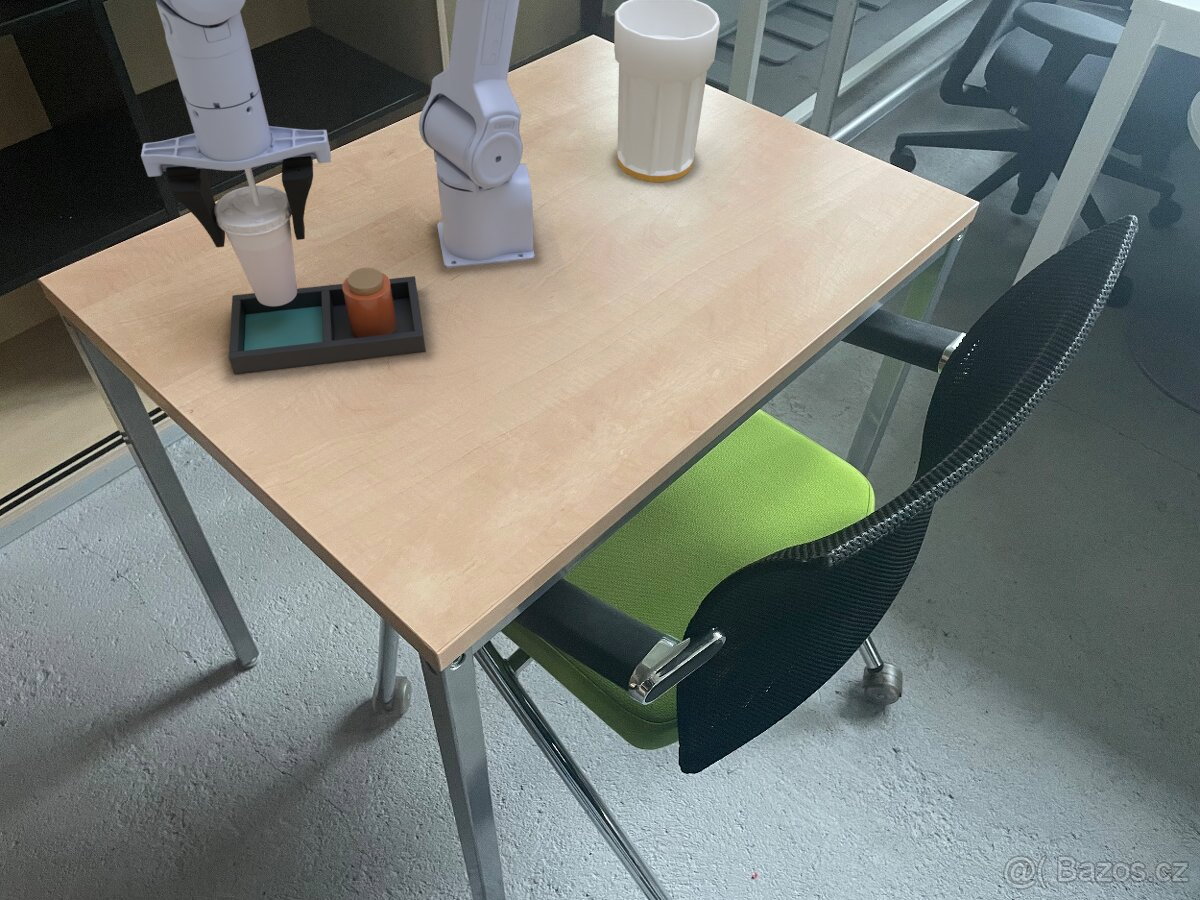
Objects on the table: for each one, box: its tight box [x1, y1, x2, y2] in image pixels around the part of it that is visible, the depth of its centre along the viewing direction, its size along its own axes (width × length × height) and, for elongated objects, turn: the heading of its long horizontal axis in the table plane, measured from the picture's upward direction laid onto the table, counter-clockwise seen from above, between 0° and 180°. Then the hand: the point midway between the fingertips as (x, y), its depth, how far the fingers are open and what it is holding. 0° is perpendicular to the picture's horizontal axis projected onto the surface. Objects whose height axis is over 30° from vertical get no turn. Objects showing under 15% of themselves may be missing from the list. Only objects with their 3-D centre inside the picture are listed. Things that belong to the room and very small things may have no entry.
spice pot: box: [342, 267, 397, 338], centre depth 90 cm, size 4×4×6 cm
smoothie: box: [214, 168, 298, 306], centre depth 84 cm, size 6×6×14 cm
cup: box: [613, 0, 721, 183], centre depth 108 cm, size 11×11×17 cm
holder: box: [228, 275, 427, 375], centre depth 91 cm, size 9×17×2 cm, turn 103°
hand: (261, 236), depth 84 cm, fingers closed on smoothie, 6 cm apart
